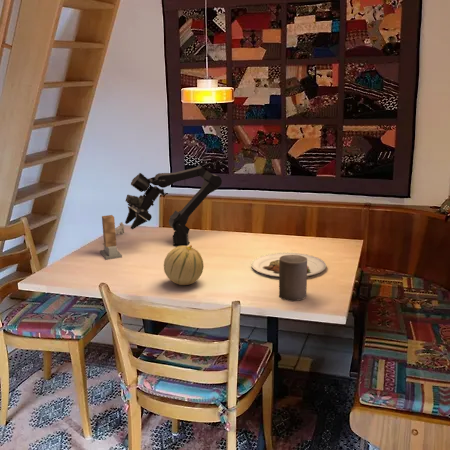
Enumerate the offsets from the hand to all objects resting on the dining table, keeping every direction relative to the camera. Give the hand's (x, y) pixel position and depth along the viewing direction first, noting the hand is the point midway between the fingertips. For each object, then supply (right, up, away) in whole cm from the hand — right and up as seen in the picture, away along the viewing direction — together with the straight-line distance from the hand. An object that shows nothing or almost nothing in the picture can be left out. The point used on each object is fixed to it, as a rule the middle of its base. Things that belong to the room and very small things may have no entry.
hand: (128, 226), depth 242 cm
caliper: (-11, -7, +24) cm, 28 cm away
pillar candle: (+67, -25, -52) cm, 88 cm away
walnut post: (-8, -8, -3) cm, 12 cm away
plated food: (+69, -17, -23) cm, 74 cm away
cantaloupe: (+28, -22, -38) cm, 52 cm away
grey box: (-7, -13, -2) cm, 15 cm away
